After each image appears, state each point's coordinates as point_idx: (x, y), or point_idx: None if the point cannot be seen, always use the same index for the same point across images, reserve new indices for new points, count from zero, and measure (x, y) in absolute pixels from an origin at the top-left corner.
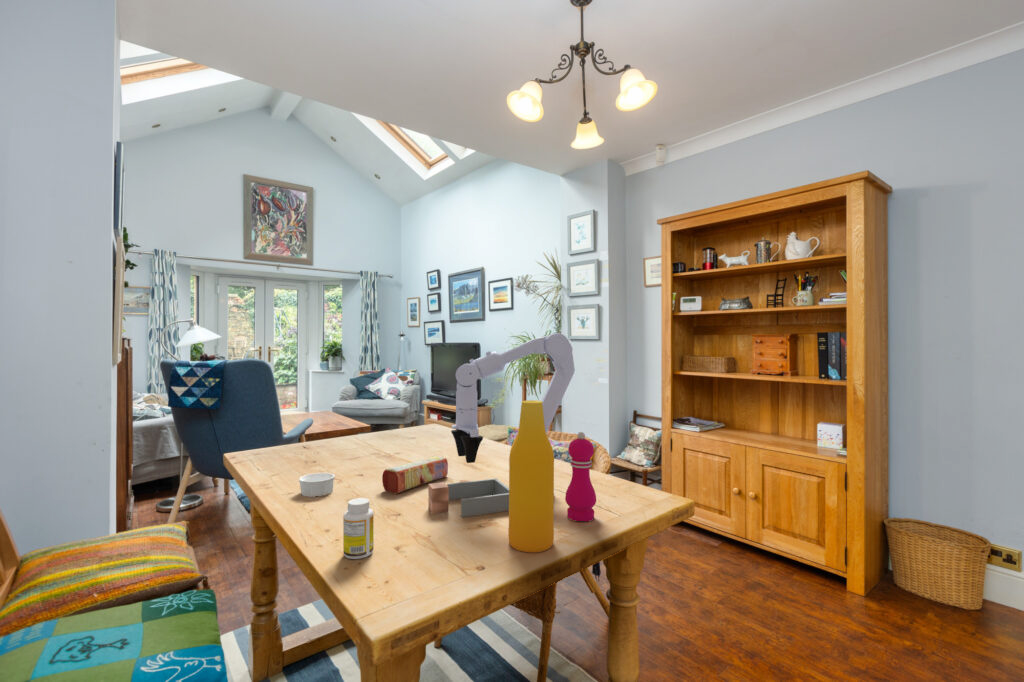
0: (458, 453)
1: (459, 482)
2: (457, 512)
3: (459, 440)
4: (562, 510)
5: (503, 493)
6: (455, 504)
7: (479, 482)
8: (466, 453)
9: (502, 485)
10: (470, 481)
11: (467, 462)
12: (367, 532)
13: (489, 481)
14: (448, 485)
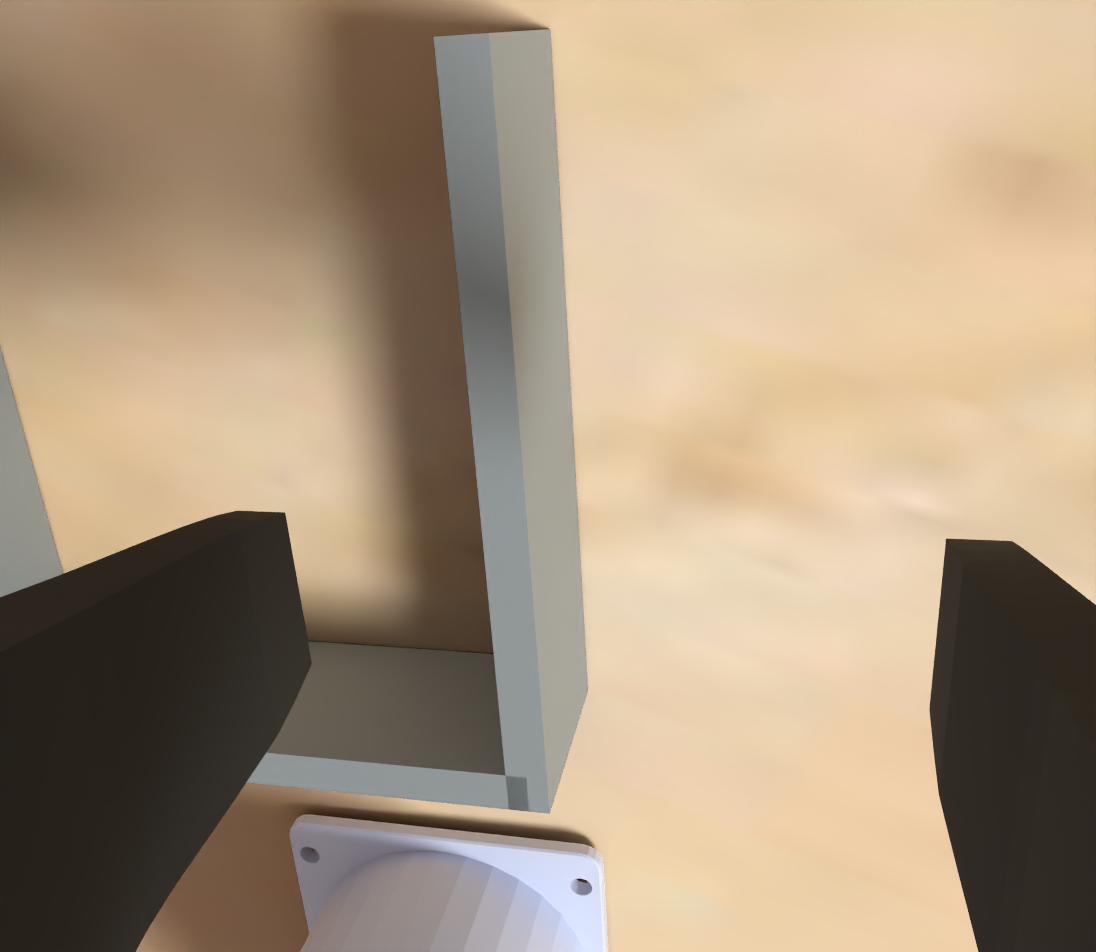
0: (958, 561)
1: (503, 268)
2: (38, 54)
3: (1069, 882)
4: None
5: None
6: (315, 99)
7: (489, 565)
8: (33, 590)
9: None
10: (509, 451)
11: (223, 517)
12: None
13: (503, 699)
14: (439, 43)
